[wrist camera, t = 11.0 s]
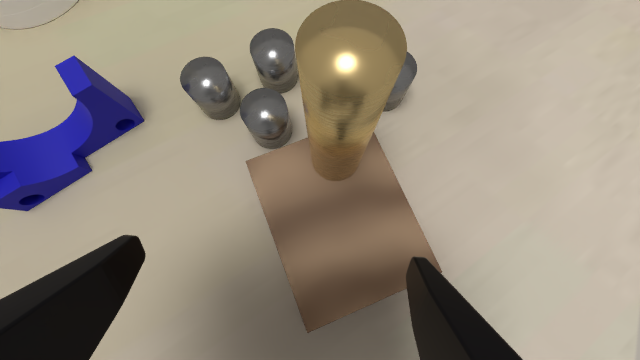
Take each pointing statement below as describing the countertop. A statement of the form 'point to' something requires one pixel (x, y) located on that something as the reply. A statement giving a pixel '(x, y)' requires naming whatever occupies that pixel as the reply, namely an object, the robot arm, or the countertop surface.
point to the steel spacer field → (265, 103)
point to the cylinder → (31, 12)
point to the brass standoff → (346, 79)
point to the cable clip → (65, 140)
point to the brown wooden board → (338, 230)
